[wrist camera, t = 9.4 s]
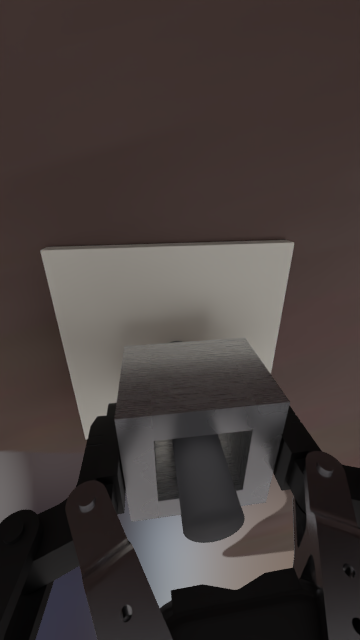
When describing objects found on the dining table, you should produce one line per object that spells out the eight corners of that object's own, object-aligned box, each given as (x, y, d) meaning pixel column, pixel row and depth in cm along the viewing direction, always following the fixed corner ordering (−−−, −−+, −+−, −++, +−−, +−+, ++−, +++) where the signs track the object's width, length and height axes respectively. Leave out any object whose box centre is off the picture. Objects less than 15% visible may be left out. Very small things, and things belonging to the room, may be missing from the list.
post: (46, 246, 14) (-171, 360, 4) (285, 239, 16) (523, 310, 6) (88, 428, 20) (37, 648, 10) (257, 410, 22) (352, 584, 12)
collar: (124, 345, 12) (114, 419, 8) (245, 337, 13) (290, 402, 9) (134, 433, 15) (131, 521, 11) (234, 423, 16) (265, 502, 12)
